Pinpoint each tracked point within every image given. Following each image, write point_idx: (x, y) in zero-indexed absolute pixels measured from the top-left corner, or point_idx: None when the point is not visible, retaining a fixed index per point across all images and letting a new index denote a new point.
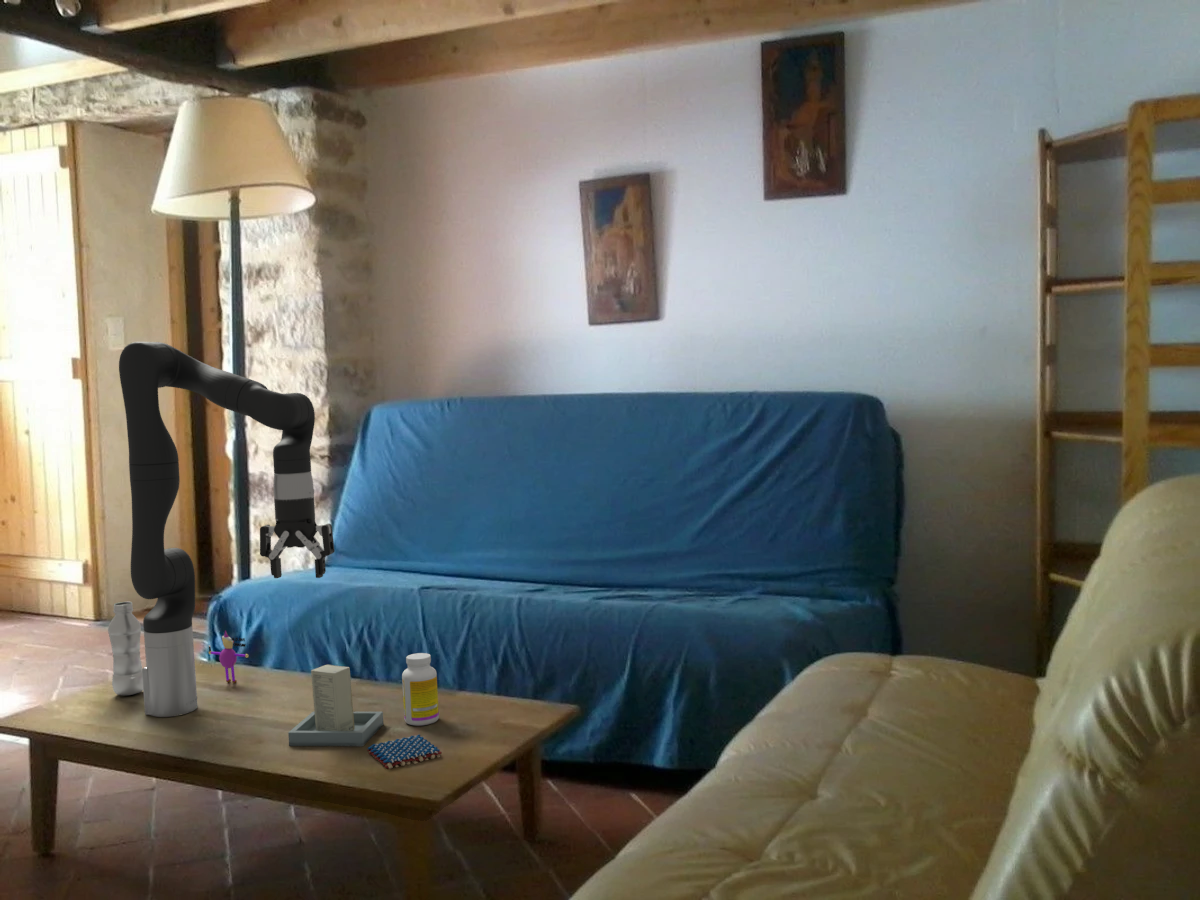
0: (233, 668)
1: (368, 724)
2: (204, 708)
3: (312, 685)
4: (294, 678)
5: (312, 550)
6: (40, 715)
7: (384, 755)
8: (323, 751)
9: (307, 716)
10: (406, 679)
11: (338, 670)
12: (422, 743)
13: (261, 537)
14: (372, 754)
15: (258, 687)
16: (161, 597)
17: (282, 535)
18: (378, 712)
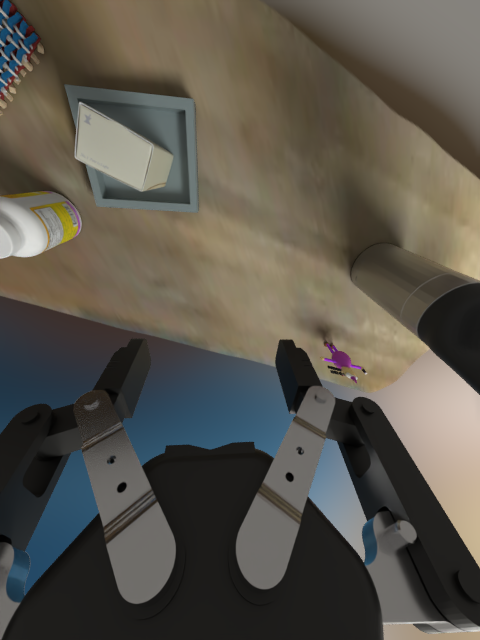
0: (331, 351)
1: None
2: (342, 273)
3: (158, 146)
4: (272, 354)
5: (110, 428)
6: None
7: None
8: (128, 65)
9: (196, 189)
10: (16, 202)
11: (84, 129)
12: None
13: (429, 502)
14: (14, 5)
15: (300, 332)
16: None
17: (288, 527)
18: (101, 202)
